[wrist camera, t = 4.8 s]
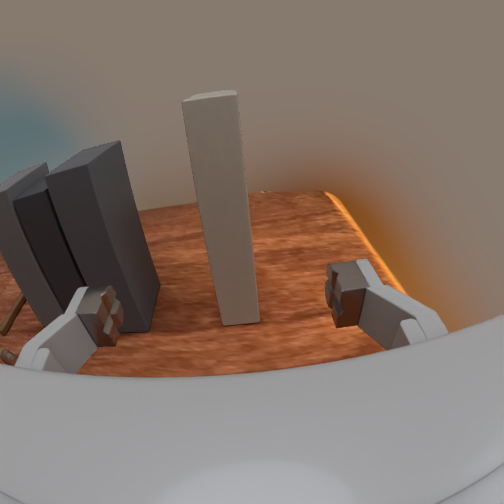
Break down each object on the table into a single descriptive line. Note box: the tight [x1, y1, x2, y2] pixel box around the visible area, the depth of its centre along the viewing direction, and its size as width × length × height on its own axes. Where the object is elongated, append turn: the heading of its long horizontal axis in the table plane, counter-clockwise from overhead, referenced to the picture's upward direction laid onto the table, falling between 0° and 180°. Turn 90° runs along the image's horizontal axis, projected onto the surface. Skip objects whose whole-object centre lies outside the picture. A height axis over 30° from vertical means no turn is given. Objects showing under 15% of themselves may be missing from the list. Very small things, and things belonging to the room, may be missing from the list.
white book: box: [182, 90, 260, 326], centre depth 18 cm, size 5×2×14 cm, turn 4°
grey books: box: [0, 141, 160, 333], centre depth 18 cm, size 5×10×12 cm, turn 94°
